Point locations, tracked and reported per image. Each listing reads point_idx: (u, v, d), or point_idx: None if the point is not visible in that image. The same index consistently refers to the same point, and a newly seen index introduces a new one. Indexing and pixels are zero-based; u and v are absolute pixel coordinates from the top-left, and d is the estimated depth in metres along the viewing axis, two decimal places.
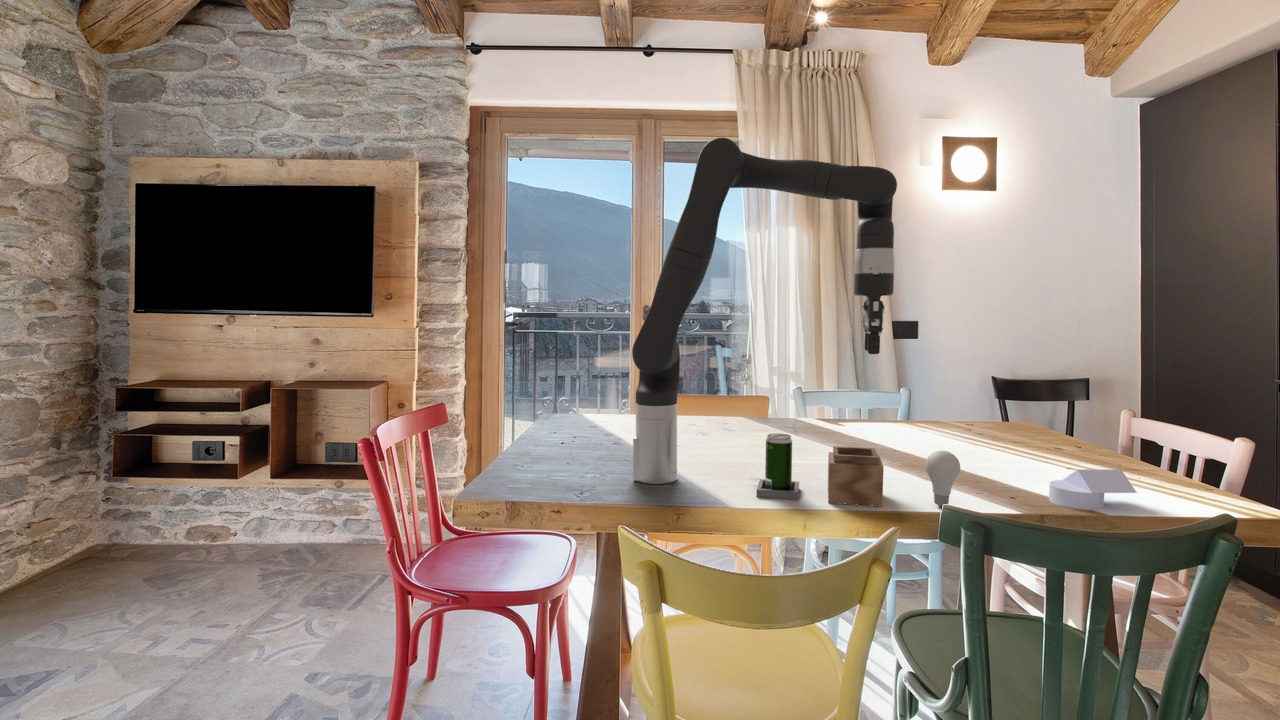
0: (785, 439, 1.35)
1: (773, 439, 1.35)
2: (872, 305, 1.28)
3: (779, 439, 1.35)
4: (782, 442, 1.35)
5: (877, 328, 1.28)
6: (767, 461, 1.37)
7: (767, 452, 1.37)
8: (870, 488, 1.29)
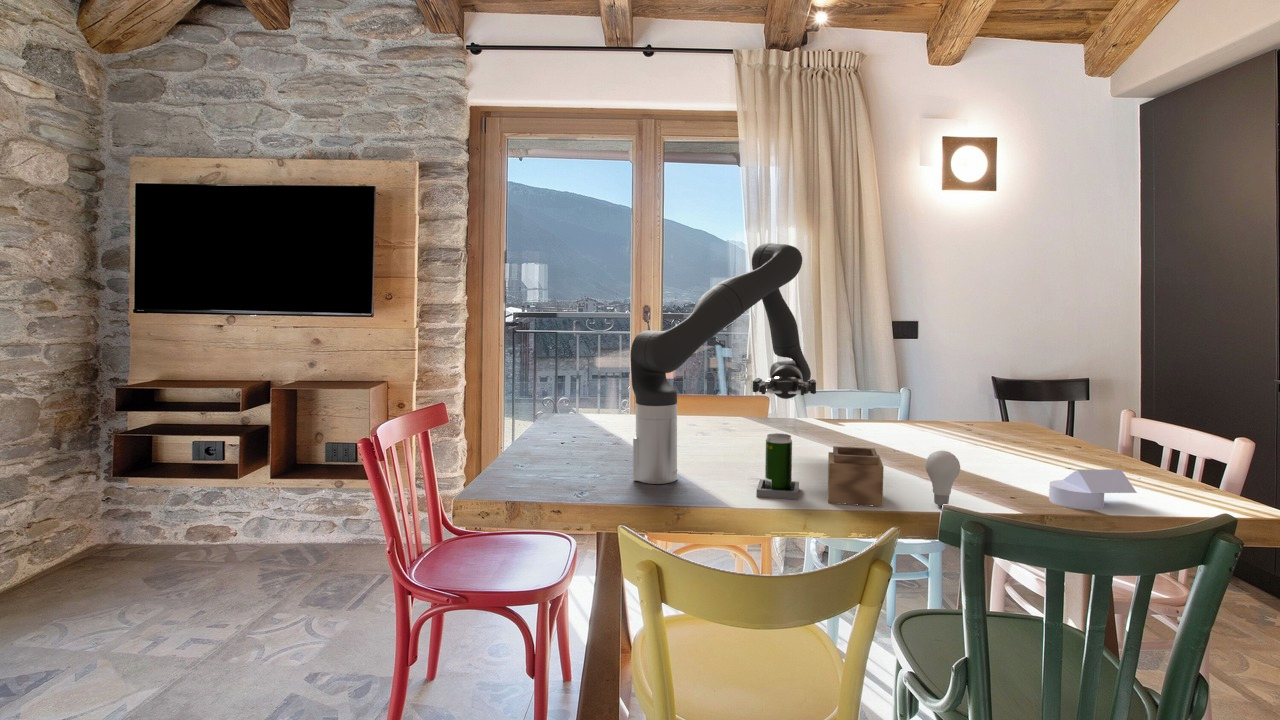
0: (785, 439, 1.35)
1: (773, 439, 1.35)
2: None
3: (779, 439, 1.35)
4: (782, 442, 1.35)
5: None
6: (767, 461, 1.37)
7: (767, 452, 1.37)
8: (870, 488, 1.29)
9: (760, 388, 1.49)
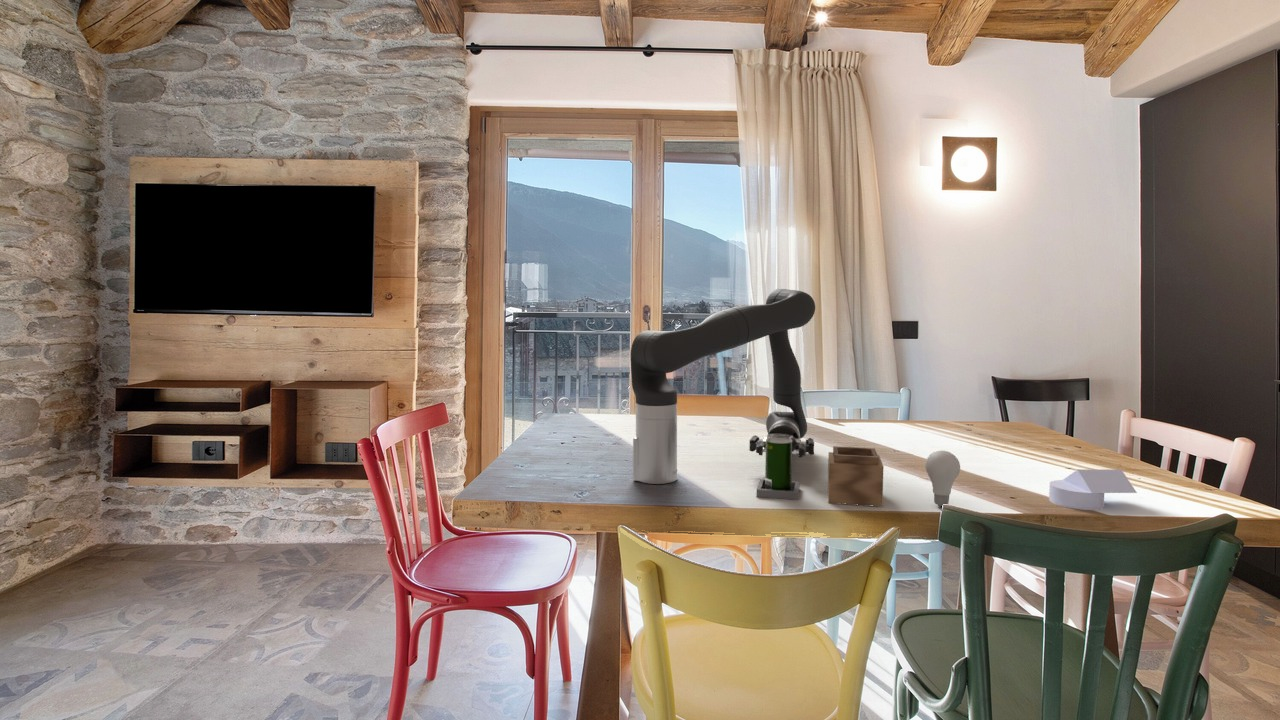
0: (785, 439, 1.35)
1: (773, 439, 1.35)
2: None
3: (779, 439, 1.35)
4: (782, 442, 1.35)
5: None
6: (767, 461, 1.37)
7: (767, 452, 1.37)
8: (870, 488, 1.29)
9: (757, 449, 1.46)
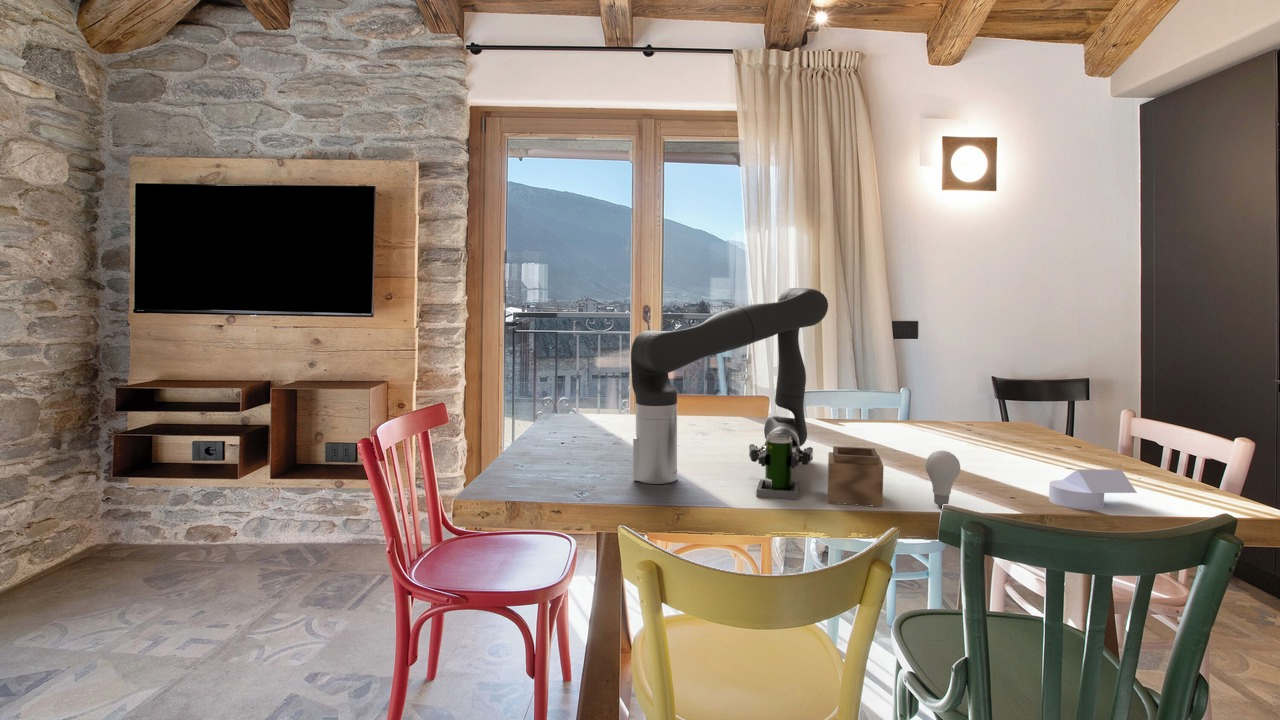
0: (785, 439, 1.35)
1: (773, 439, 1.35)
2: (812, 451, 1.42)
3: (779, 439, 1.35)
4: (782, 442, 1.35)
5: None
6: (767, 461, 1.37)
7: (767, 452, 1.37)
8: (870, 488, 1.29)
9: (760, 459, 1.37)
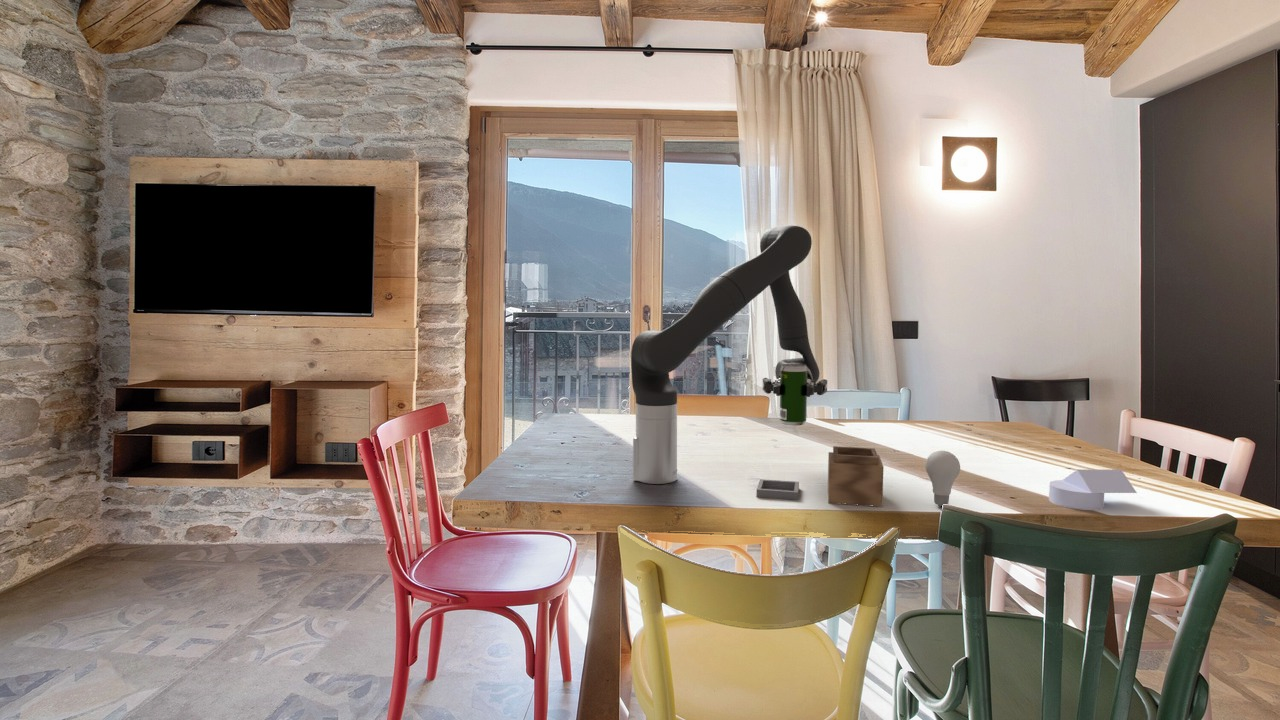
0: (800, 367, 1.33)
1: (788, 368, 1.34)
2: (826, 383, 1.41)
3: (794, 367, 1.33)
4: (797, 370, 1.33)
5: None
6: (782, 391, 1.35)
7: (782, 381, 1.35)
8: (870, 488, 1.29)
9: (775, 389, 1.35)
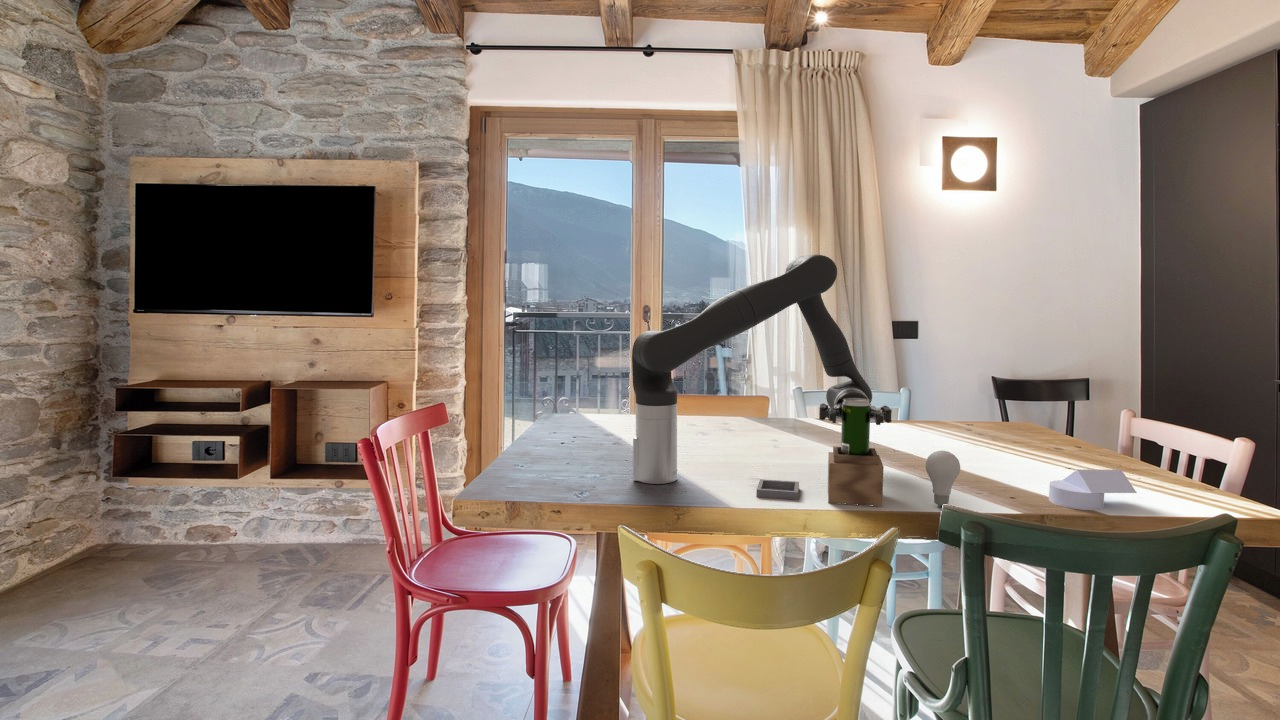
0: (864, 402, 1.31)
1: (851, 402, 1.31)
2: None
3: (858, 402, 1.31)
4: (861, 405, 1.30)
5: None
6: (844, 425, 1.32)
7: (844, 416, 1.32)
8: (870, 488, 1.29)
9: (830, 416, 1.33)
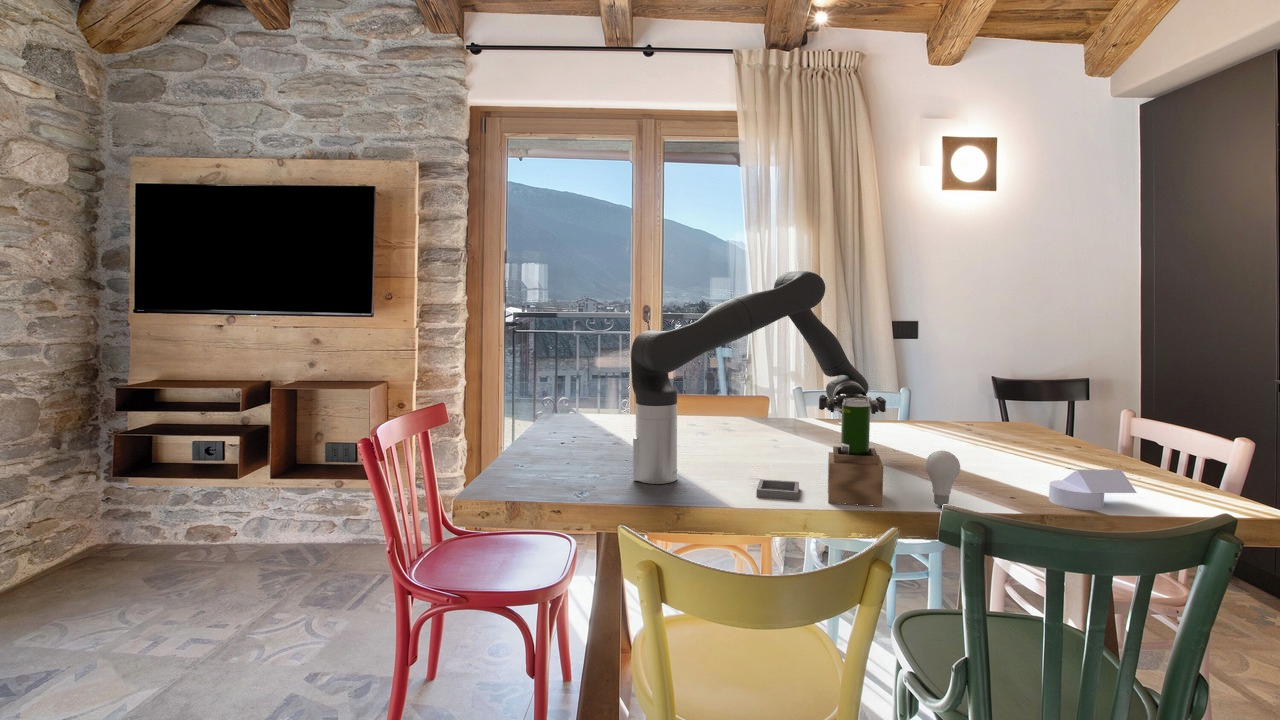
0: (864, 402, 1.31)
1: (851, 403, 1.31)
2: None
3: (857, 402, 1.30)
4: (861, 405, 1.30)
5: None
6: (844, 426, 1.32)
7: (844, 416, 1.32)
8: (870, 488, 1.29)
9: (829, 406, 1.45)
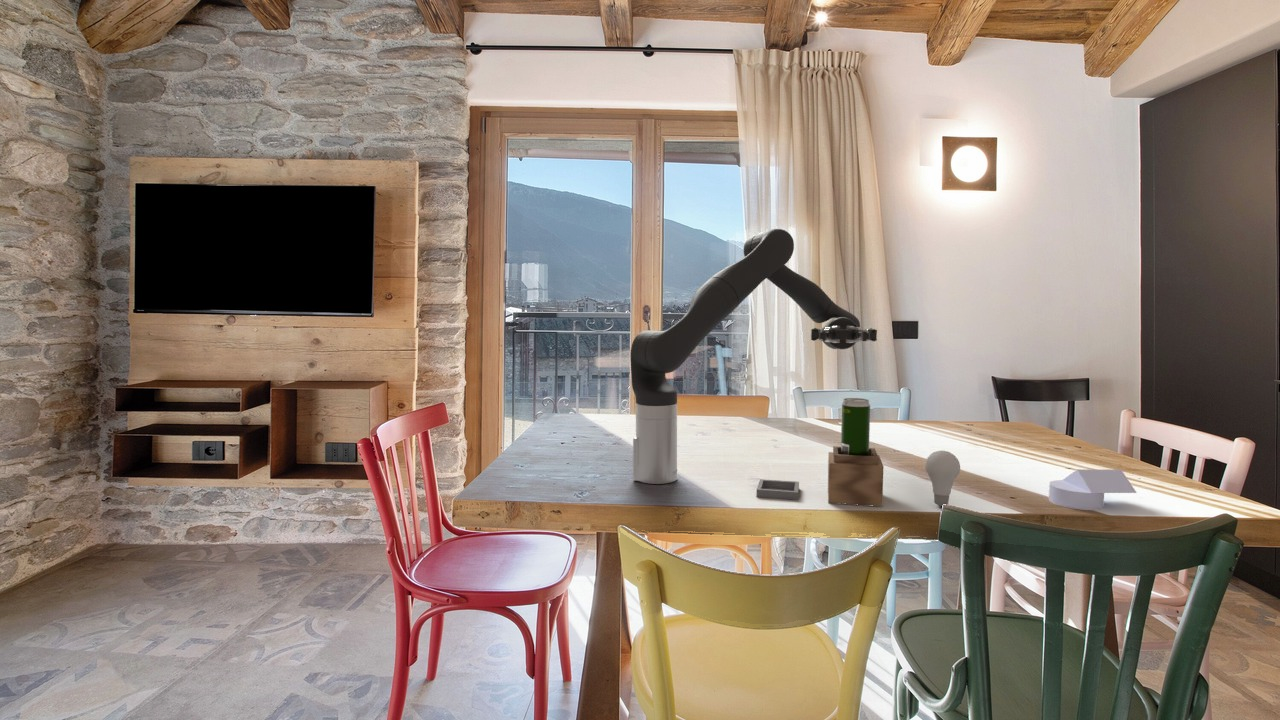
0: (864, 402, 1.31)
1: (851, 403, 1.31)
2: None
3: (857, 402, 1.30)
4: (861, 405, 1.30)
5: None
6: (844, 426, 1.32)
7: (844, 416, 1.32)
8: (870, 488, 1.29)
9: (821, 335, 1.47)
